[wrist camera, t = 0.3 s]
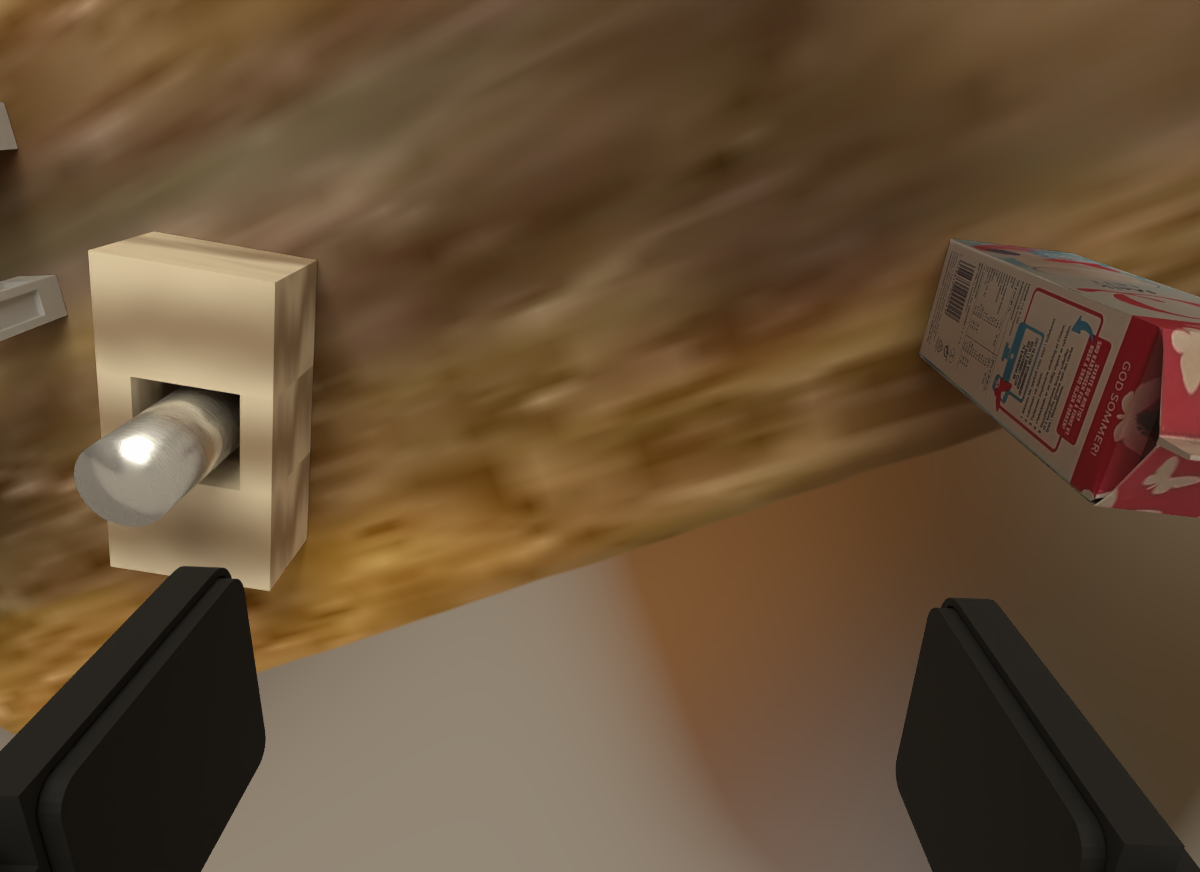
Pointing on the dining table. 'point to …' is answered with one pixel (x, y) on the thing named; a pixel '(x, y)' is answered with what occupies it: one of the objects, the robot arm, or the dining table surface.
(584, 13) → the dining table surface
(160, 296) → the beige block with hole
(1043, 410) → the juice carton
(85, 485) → the steel axle
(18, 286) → the stool
